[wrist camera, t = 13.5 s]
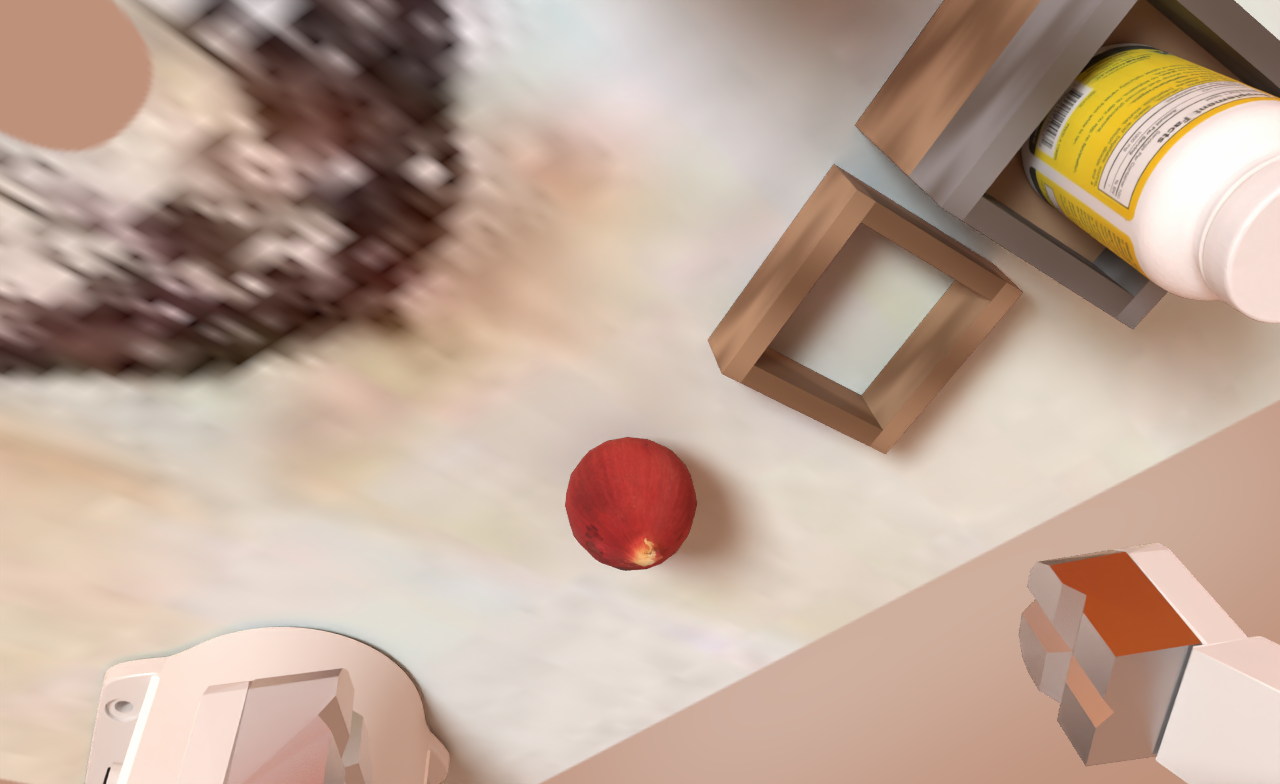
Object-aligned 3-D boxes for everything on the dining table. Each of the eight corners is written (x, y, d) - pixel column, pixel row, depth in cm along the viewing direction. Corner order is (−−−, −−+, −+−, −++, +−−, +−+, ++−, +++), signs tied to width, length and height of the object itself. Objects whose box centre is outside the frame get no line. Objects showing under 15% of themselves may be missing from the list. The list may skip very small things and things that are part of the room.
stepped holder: (868, 420, 50) (940, 539, 42) (703, 337, 46) (750, 452, 39) (1186, 36, 42) (1345, 98, 34) (1018, -105, 38) (1156, -69, 30)
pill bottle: (1174, 181, 38) (1400, 316, 29) (1017, 225, 39) (1193, 374, 29) (1185, 15, 35) (1444, 110, 26) (1012, 64, 35) (1210, 176, 26)
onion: (638, 518, 51) (664, 633, 44) (537, 477, 49) (549, 592, 42) (701, 432, 49) (739, 539, 42) (599, 385, 47) (622, 491, 40)
